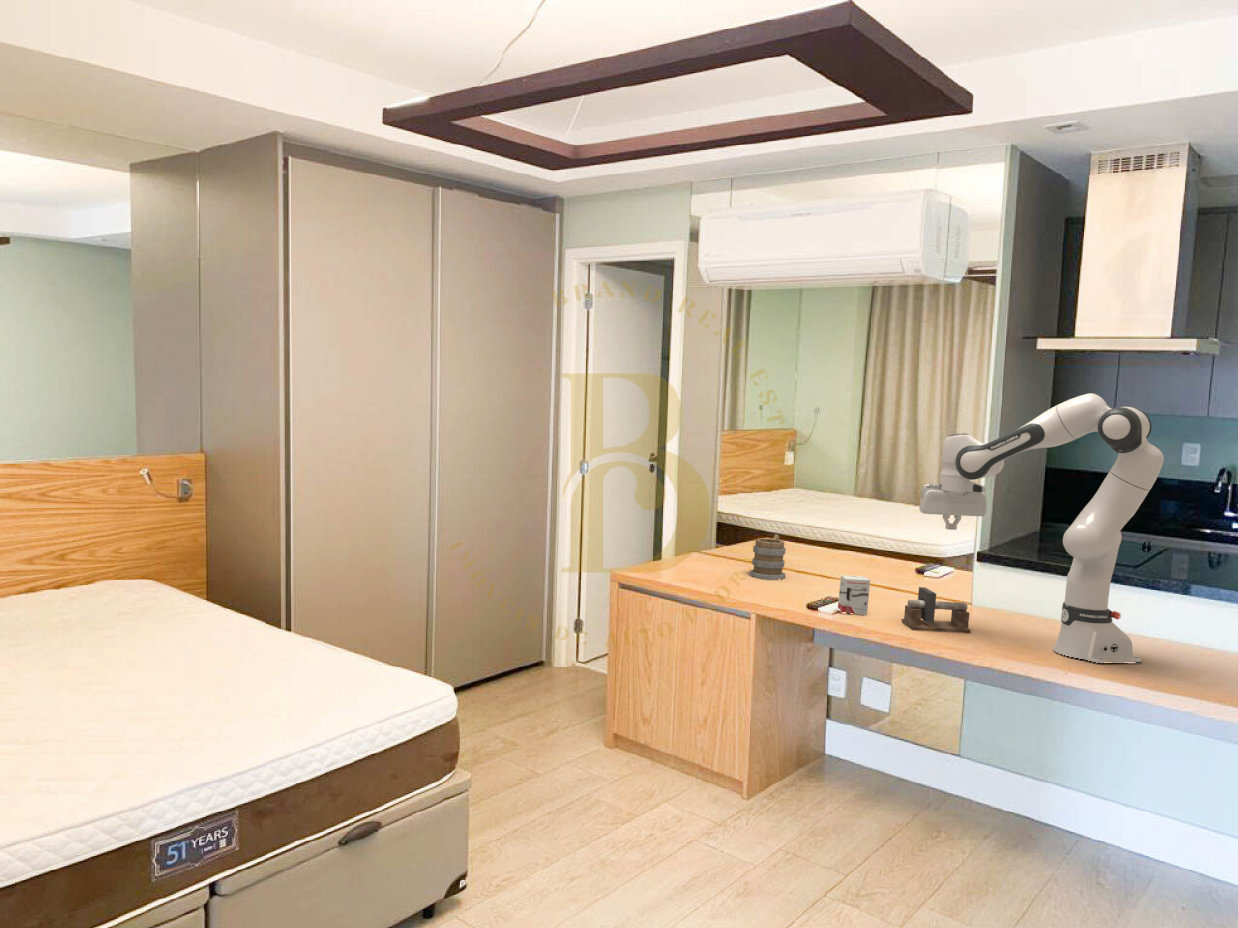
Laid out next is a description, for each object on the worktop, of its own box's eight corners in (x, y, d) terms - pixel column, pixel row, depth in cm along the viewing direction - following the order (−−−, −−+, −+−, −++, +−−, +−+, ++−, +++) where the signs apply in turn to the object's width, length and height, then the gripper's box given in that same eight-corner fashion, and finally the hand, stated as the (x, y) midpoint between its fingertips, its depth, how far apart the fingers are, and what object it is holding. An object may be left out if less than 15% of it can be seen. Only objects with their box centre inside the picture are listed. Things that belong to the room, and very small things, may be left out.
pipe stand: (957, 624, 292) (959, 598, 291) (970, 632, 282) (973, 606, 281) (901, 621, 291) (903, 595, 290) (912, 630, 281) (915, 603, 280)
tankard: (779, 581, 343) (782, 541, 342) (746, 576, 349) (749, 537, 347) (792, 573, 361) (795, 535, 360) (761, 569, 367) (764, 531, 366)
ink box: (841, 614, 296) (844, 577, 295) (837, 610, 301) (840, 574, 300) (867, 615, 297) (870, 579, 296) (863, 611, 302) (866, 576, 301)
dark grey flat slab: (922, 615, 290) (925, 587, 290) (933, 622, 281) (936, 593, 281) (916, 615, 290) (918, 587, 290) (927, 622, 281) (929, 593, 281)
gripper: (925, 484, 283) (922, 529, 284) (990, 487, 284) (986, 532, 285) (917, 482, 289) (914, 526, 290) (981, 485, 290) (977, 529, 291)
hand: (951, 529), depth 287 cm, fingers closed
